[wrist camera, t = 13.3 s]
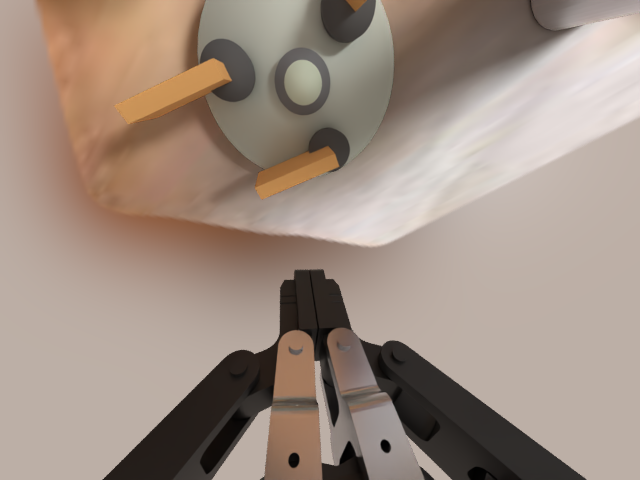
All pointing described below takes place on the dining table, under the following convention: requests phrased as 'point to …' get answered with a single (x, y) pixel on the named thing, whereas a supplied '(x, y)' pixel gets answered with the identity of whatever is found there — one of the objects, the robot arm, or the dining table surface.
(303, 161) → the knob
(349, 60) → the tribrach plate
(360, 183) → the dining table surface
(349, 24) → the knob
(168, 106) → the knob
